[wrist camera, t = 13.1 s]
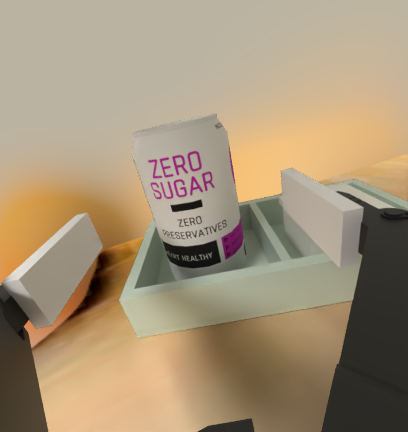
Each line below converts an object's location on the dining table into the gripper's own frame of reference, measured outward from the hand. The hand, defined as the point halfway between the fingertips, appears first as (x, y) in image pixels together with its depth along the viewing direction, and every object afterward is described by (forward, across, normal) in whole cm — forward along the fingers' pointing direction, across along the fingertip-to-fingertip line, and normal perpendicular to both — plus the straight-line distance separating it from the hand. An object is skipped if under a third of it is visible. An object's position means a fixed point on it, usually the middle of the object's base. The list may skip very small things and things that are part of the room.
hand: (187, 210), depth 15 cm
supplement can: (+6, 0, -10) cm, 12 cm away
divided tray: (+6, +7, -11) cm, 14 cm away
